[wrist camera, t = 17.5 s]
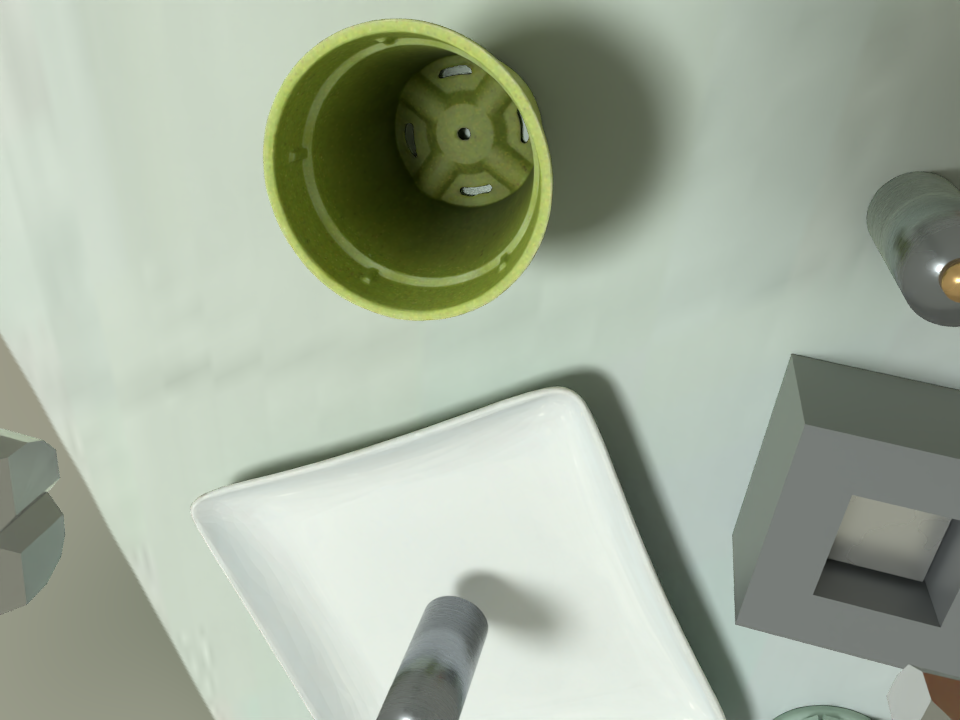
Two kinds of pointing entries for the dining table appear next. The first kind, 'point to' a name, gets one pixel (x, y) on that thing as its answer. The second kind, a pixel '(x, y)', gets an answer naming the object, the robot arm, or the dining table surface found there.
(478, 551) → the salad plate
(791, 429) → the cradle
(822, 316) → the dining table surface
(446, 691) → the cell
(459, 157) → the plant pot
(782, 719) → the cup
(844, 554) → the plunger
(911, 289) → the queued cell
